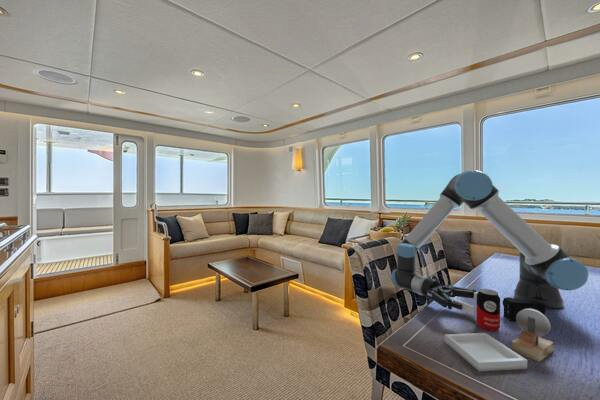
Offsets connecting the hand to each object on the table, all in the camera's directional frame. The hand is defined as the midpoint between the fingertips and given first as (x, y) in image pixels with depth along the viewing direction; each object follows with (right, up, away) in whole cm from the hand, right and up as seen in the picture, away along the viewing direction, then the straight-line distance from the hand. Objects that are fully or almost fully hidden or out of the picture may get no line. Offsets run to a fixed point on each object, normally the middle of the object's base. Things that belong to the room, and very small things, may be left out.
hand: (485, 306), depth 85 cm
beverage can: (+1, -7, 0) cm, 7 cm away
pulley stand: (+4, -7, -13) cm, 15 cm away
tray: (-12, -7, -15) cm, 20 cm away
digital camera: (+17, -7, +5) cm, 19 cm away
